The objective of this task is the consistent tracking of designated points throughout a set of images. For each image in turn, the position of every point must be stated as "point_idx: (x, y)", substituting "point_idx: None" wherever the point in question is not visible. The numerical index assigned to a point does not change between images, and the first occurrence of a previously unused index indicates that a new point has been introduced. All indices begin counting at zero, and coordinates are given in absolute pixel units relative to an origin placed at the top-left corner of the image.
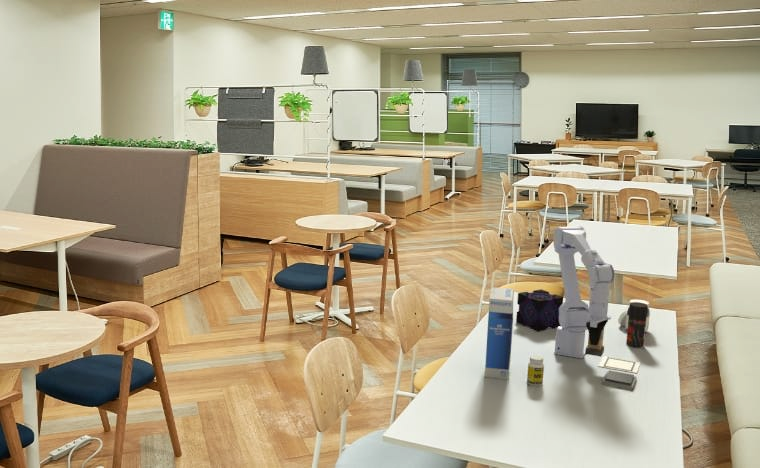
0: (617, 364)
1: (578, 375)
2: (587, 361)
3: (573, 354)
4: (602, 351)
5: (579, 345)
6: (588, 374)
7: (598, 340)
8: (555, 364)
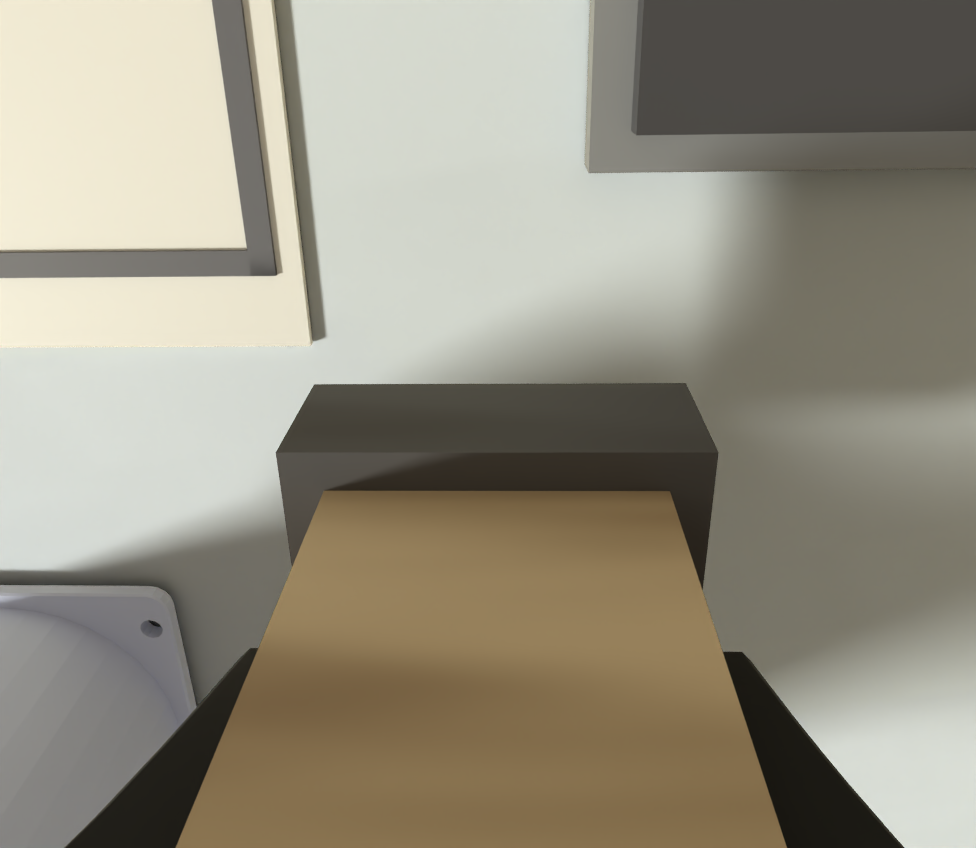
0: (29, 63)
1: (814, 519)
2: (205, 507)
3: (159, 704)
4: (555, 420)
5: (39, 760)
6: (718, 412)
7: (836, 770)
8: None
